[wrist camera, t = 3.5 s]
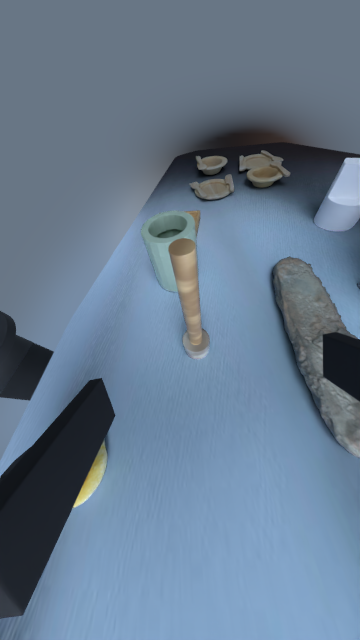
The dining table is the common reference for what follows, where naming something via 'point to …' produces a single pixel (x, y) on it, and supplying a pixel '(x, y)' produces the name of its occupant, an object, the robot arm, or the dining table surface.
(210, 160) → the tableware set
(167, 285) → the green cylindrical container
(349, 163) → the base with upright slab
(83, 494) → the bread roll
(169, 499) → the dining table surface
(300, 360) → the elongated rock
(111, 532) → the dining table surface
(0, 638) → the dining table surface
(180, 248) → the wooden pestle
